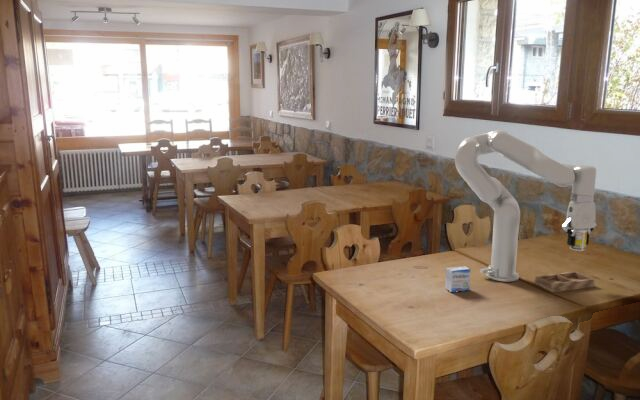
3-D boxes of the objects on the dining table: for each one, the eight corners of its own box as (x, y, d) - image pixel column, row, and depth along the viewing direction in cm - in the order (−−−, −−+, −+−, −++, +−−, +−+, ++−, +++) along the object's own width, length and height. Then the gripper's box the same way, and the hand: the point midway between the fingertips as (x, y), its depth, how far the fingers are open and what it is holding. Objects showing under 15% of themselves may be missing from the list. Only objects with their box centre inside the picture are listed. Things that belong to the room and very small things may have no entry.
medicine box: (450, 293, 192) (451, 271, 190) (444, 288, 196) (445, 267, 194) (469, 290, 194) (470, 269, 192) (463, 286, 198) (464, 265, 196)
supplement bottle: (579, 247, 200) (582, 221, 198) (588, 251, 195) (591, 225, 193) (566, 247, 200) (568, 222, 197) (574, 251, 194) (577, 225, 192)
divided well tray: (552, 292, 192) (552, 284, 191) (535, 283, 201) (535, 276, 200) (593, 286, 197) (594, 279, 196) (575, 278, 206) (575, 271, 205)
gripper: (570, 202, 187) (566, 249, 191) (608, 199, 192) (603, 245, 196) (556, 198, 194) (552, 243, 198) (592, 195, 199) (588, 240, 203)
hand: (577, 244), depth 197 cm, fingers closed on supplement bottle, 5 cm apart
